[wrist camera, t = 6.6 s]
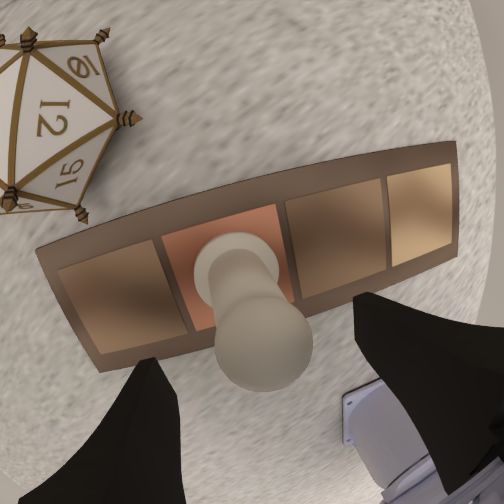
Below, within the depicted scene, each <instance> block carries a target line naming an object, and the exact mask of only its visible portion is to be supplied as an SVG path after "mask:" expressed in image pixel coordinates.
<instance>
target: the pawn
mask: <svg viewBox="0 0 504 504" xmlns="http://www.w3.org/2000/svg"><path fill="white" fill-rule="evenodd" d="M278 278H279V265H278V261H277V258H276V256H275V254H274V252H273V251H272V249H271V248H270V247H269V246H268V244H267V243H266V242H265V241H264V240H263V239H262V238H260V237H259V236H257V235H255V234H253V233H250V232H247V231H241V230H233V231H227V232H223V233H220V234H218V235H216V236H214V237H213V238H211V239H210V240H209V241H207V242H206V243H205V244H204V245H203V247H202V248H201V249H200V251H199V252H198V254H197V257H196V259H195V263H194V282H195V286H196V289H197V292H198V294H199V295H200V297H201V298H202V299H203V301H204V302H205V303H206V304H208V305H209V306H210V307H212V308H213V312H214V318H215V323H216V329H217V330H216V334H215V340H214V347H215V354H216V358H217V361H218V363H219V365H220V367H221V369H222V371H223V372H224V373H225V374H226V376H227V377H228V378H229V379H230V380H231V381H233V382H234V383H235V384H237V385H239V386H241V387H243V388H245V389H248V390H251V391H256V392H270V391H275V390H279V389H282V388H284V387H286V386H288V385H290V384H291V383H293V382H294V381H295V380H296V379H298V378H299V377H300V375H301V374H302V373H303V372H304V370H305V369H306V367H307V365H308V363H309V361H310V358H311V354H312V348H313V340H312V333H311V329H310V326H309V324H308V322H307V320H306V319H305V317H304V316H303V314H302V313H301V312H300V311H299V310H298V309H297V308H296V307H295V306H293V305H292V304H291V303H289V302H288V301H287V299H286V297H285V296H284V294H283V293H282V291H281V289H280V288H279V286H278V285H277V282H278Z"/></svg>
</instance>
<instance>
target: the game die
mask: <svg viewBox="0 0 504 504" xmlns="http://www.w3.org/2000/svg"><path fill="white" fill-rule="evenodd" d="M109 31H110V28H106V29H103V30H101V29H100V31H99V33H98V34H96V37H95V39H94V40H56V41H37V39H36V36H37V35H38V33H36V32H34V31H33V30H32V29H31V28H30V27H29V26H28V28H27V29H26V30H25V32H24V33H23V34H21V35H20V43H15V44H7V45H5V42H6V40H5V36H4V34H0V215H3V214H14V213H26V212H40V211H54V210H71V209H74V210H75V212H76V217H78V221H81V222H83V223H85V224H87V225H88V214H89V213H87V212H86V208H83V207H82V206H81V201H82V199H83V196H84V194H85V192H86V189H87V187H88V185H89V183H90V180H91V178H92V176H93V174H94V172H95V169H96V167H97V165H98V163H99V161H100V159H101V157H102V155H103V153H104V151H105V149H106V147H107V145H108V143H109V141H110V139H111V137H112V136H113V134H114V132H115V131H116V130H118V129H119V128H120V127H121V126H122V125H121V124H123V126H126V125H129V126H130V127H131V126H133V125H135V123H136V122H138V121H140V120H142V119H143V118H142V117H140V116H139V115H137V114H136V113H135V112H134V111H133V110H132V111H131V112H128V111H125V112H124V113H122V114H120V113H119V110H118V107H117V104H116V101H115V98H114V95H113V92H112V89H111V86H110V82H109V79H108V76H107V73H106V70H105V66H104V63H103V60H102V56H101V53H100V50H99V46H98V45H99V44H100V43H101V42H105V39H106V38H109ZM36 41H37V42H36Z"/></svg>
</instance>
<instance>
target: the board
mask: <svg viewBox="0 0 504 504" xmlns="http://www.w3.org/2000/svg"><path fill="white" fill-rule="evenodd" d="M233 230H241V231H247V232H250V233H253V234H255V235H257V236H259V237H260V238H262V239H263V240H264V241H265V242H266V243H267V244H268V246H269V247H270V248H271V249H272V251H273V252H274V254H275V256H276V258H277V261H278V265H279V278H278V282H277V285H278V286H279V288H280V289H281V291H282V293H283V294H284V296H285V297H286V299H287V301H288V302H289V303H291V304H292V305H293V306H295V307H296V308H297V309H298V310H299V311H300V312H301V313H302V314H303V316H304V317H305V318H307V317H310V316H313V315H316V314H318V313H321V312H324V311H327V310H330V309H332V308H335V307H338V306H341V305H343V304H346V303H349V302H351V301H353V297H354V296H356V295H359V294H362V293H364V292H371V293H374V292H377V291H379V290H382V289H384V288H387V287H389V286H392V285H394V284H397V283H399V282H401V281H404V280H406V279H408V278H411V277H413V276H415V275H418V274H420V273H422V272H424V271H427V270H429V269H431V268H433V267H436V266H438V265H440V264H442V263H444V262H446V261H449V260H451V259H453V258H455V257H457V254H458V238H459V174H458V158H457V147H456V141H446V142H438V143H430V144H423V145H416V146H409V147H402V148H396V149H390V150H384V151H378V152H372V153H367V154H361V155H356V156H350V157H345V158H340V159H335V160H330V161H325V162H320V163H316V164H311V165H307V166H302V167H297V168H293V169H289V170H284V171H280V172H276V173H272V174H268V175H264V176H260V177H256V178H252V179H248V180H244V181H240V182H236V183H232V184H229V185H225V186H221V187H218V188H214V189H210V190H207V191H203V192H200V193H196V194H193V195H189V196H186V197H183V198H179V199H176V200H173V201H169V202H166V203H163V204H160V205H157V206H153V207H150V208H147V209H144V210H141V211H138V212H135V213H132V214H129V215H126V216H123V217H120V218H117V219H114V220H111V221H109V222H106V223H103V224H100V225H97V226H95V227H92V228H89V229H86V230H84V231H81V232H78V233H76V234H73V235H70V236H68V237H65V238H62V239H60V240H57V241H55V242H52V243H50V244H47V245H45V246H42V247H40V248H37V249H36V250H35V253H36V255H37V257H38V260H39V262H40V264H41V267H42V269H43V271H44V273H45V276H46V278H47V280H48V282H49V284H50V286H51V289H52V291H53V293H54V295H55V297H56V299H57V301H58V303H59V305H60V307H61V308H62V310H63V312H64V314H65V316H66V318H67V320H68V322H69V323H70V325H71V327H72V329H73V330H74V332H75V334H76V336H77V337H78V339H79V341H80V342H81V344H82V346H83V347H84V349H85V351H86V352H87V354H88V356H89V357H90V359H91V360H92V362H93V363H94V365H95V366H96V368H97V369H98V371H99V372H100V373H102V372H107V371H112V370H117V369H122V368H127V367H131V366H136V365H137V363H138V362H139V360H143V359H148V358H152V357H155V358H156V359H157V361H158V360H162V359H167V358H171V357H175V356H179V355H183V354H187V353H191V352H195V351H198V350H202V349H206V348H210V347H213V346H214V340H215V334H216V330H217V329H216V323H215V318H214V312H213V308H212V307H210V306H209V305H208V304H206V303H205V302H204V301H203V299H202V298H201V297H200V295H199V294H198V292H197V289H196V286H195V282H194V263H195V259H196V257H197V254H198V252H199V251H200V249H201V248H202V247H203V245H204V244H205V243H206V242H207V241H209V240H210V239H211V238H213V237H214V236H216V235H218V234H220V233H223V232H227V231H233Z"/></svg>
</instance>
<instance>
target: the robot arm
mask: <svg viewBox="0 0 504 504" xmlns="http://www.w3.org/2000/svg"><path fill="white" fill-rule="evenodd" d="M353 312H354V335H355V341H356V343H357V345H358V346H359V348H360V350H361V352H362V353H363V355H364V357H365V358H366V360H367V361H368V362H369V364H370V365H371V366H372V368H373V369H374V370H375V371H376V373H377V374H378V375H379V376H380V378H381V379H380V380H378V381H375V382H373V383H371V384H369V385H367V386H365V387H362V388H360V389H358V390H356V391H353V392H351V393H349V394H347V395H345V396H344V397H343V445H344V446H345V447H348V446H350V445H353V444H354V446H355V448H356V449H357V451H358V453H359V455H360V457H361V459H362V460H363V462H364V464H365V466H366V468H367V469H368V471H369V473H370V475H371V477H372V478H373V480H374V482H375V483H376V484H377V485H378V486H380V487H381V488H383V489H386V490H384V491H382V492H381V494H382V496H383V498H384V500H382V501H381V502H380V504H504V328H503V327H489V326H480V325H473V324H467V323H463V322H458V321H453V320H449V319H445V318H441V317H438V316H435V315H431V314H428V313H425V312H422V311H419V310H416V309H413V308H411V307H408V306H405V305H403V304H400V303H397V302H395V301H392V300H390V299H387V298H384V297H382V296H379V295H376V294H374V293H371V292H364V293H362V294H359V295H356V296H354V297H353ZM18 504H186V499H185V494H184V489H183V483H182V474H181V442H180V414H179V407H178V400H177V394H176V393H175V391H174V389H173V388H172V386H171V384H170V383H169V381H168V379H167V377H166V376H165V374H164V372H163V370H162V369H161V367H160V365H159V363H158V361H157V359H156V358H155V357H152V358H148V359H143V360H139V362H138V363H137V365H136V367H135V368H134V370H133V372H132V373H131V375H130V377H129V378H128V380H127V382H126V383H125V385H124V387H123V388H122V390H121V392H120V393H119V395H118V397H117V398H116V400H115V402H114V403H113V405H112V406H111V408H110V409H109V411H108V412H107V414H106V415H105V417H104V418H103V420H102V421H101V423H100V424H99V426H98V427H97V428H96V430H95V431H94V432H93V434H92V435H91V436H90V437H89V438H88V440H87V441H86V442H85V443H84V445H83V446H82V447H81V448H80V449H79V450H78V451H77V452H76V453H75V454H74V455H73V456H72V457H71V458H70V459H69V460H68V461H67V462H66V464H65V465H63V466H62V467H61V468H60V469H59V470H58V471H57V472H56V473H55V474H53V475H52V476H51V477H50V478H48V479H47V480H46V481H45V482H43V483H42V484H41V485H39V486H38V487H36V488H35V489H33V490H32V491H30V492H29V493H27V494H26V495H24V496H23V497H21V498H20V499H19V501H18Z"/></svg>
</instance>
